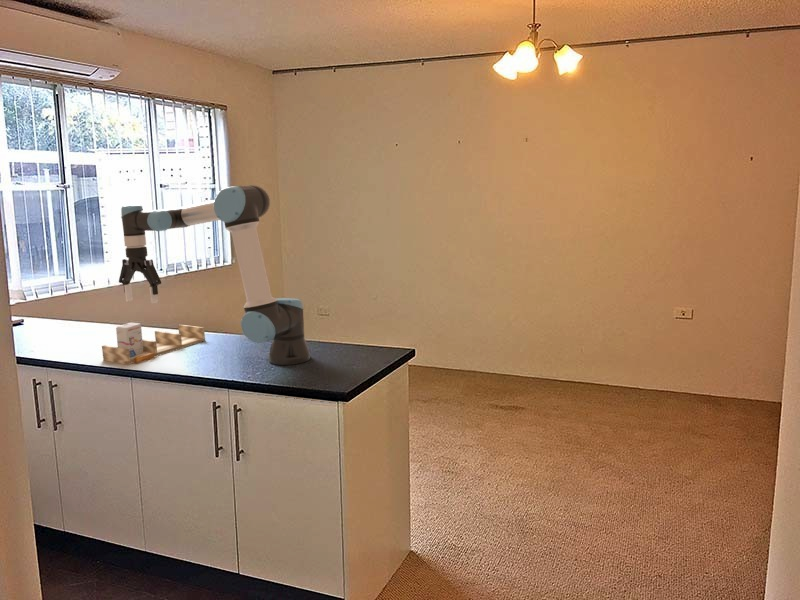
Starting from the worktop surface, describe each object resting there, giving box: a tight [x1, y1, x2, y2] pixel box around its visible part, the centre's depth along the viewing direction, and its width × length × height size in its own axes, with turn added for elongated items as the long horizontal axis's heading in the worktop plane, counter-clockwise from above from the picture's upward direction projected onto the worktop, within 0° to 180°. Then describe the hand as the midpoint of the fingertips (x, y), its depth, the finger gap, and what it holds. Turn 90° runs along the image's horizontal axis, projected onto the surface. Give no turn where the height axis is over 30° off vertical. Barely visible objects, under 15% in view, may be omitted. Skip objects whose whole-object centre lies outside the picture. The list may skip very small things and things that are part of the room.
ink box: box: [115, 322, 143, 357], centre depth 256 cm, size 9×5×12 cm, turn 162°
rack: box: [101, 324, 206, 366], centre depth 267 cm, size 16×38×6 cm, turn 151°
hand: (142, 302), depth 256 cm, fingers open, 13 cm apart
